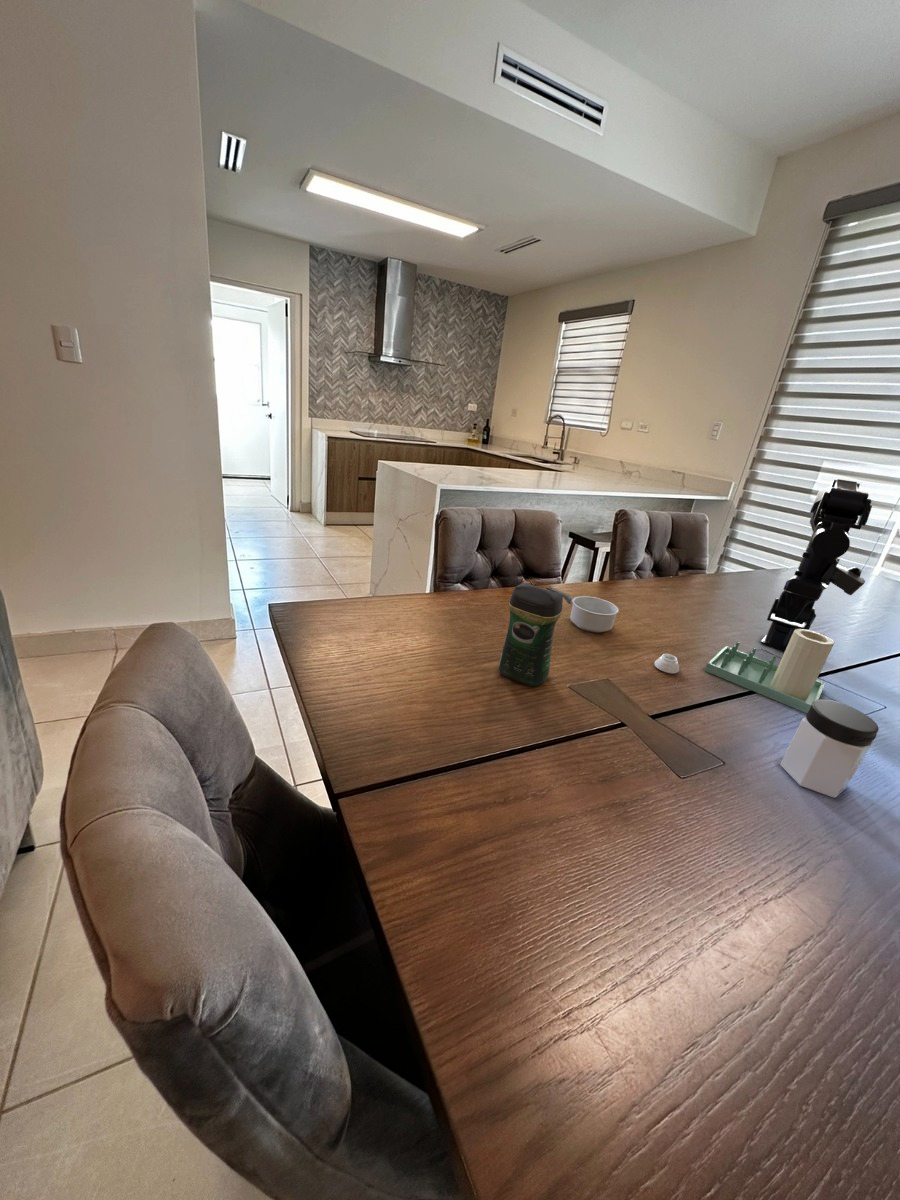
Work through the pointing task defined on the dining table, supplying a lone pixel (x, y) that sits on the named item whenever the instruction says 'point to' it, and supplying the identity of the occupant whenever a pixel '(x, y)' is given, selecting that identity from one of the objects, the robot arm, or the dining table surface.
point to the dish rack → (757, 676)
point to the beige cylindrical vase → (802, 663)
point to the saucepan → (590, 612)
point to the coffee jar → (530, 634)
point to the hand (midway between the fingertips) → (794, 616)
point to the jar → (829, 747)
